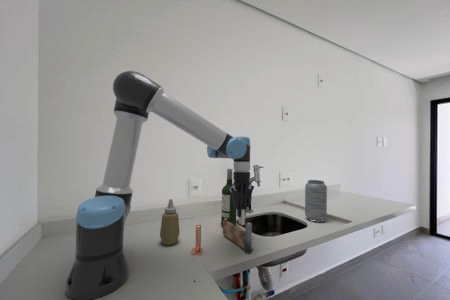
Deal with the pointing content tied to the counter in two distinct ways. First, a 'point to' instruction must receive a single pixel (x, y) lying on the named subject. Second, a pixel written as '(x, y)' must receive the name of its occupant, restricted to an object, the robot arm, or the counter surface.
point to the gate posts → (247, 248)
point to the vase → (316, 200)
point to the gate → (234, 233)
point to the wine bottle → (228, 201)
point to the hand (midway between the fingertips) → (241, 223)
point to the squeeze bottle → (170, 225)
